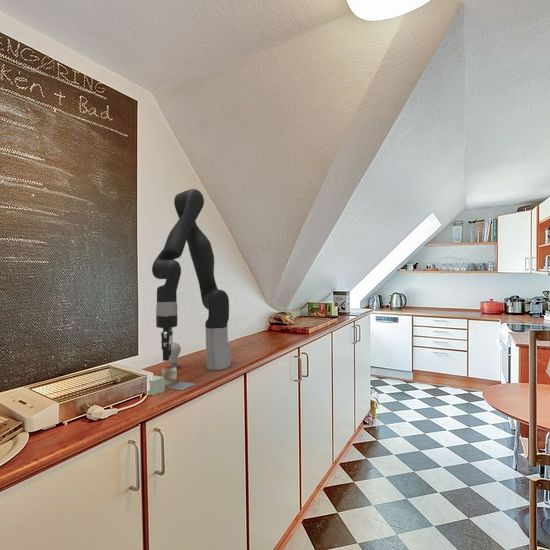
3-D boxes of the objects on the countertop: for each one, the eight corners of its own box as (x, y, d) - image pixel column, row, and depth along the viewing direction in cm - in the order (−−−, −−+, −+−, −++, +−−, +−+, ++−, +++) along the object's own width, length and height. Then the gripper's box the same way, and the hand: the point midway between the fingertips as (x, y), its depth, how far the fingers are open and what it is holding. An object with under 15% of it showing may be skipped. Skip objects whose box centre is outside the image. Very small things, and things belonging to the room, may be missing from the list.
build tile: (181, 382, 130) (181, 381, 130) (196, 385, 126) (196, 383, 126) (166, 388, 124) (166, 387, 124) (182, 391, 120) (182, 389, 120)
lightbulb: (175, 365, 155) (175, 340, 155) (184, 367, 152) (183, 341, 152) (163, 368, 151) (162, 342, 151) (171, 370, 147) (171, 344, 147)
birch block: (177, 380, 133) (176, 367, 133) (176, 384, 128) (176, 370, 128) (163, 381, 132) (162, 368, 132) (162, 385, 127) (161, 372, 127)
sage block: (154, 389, 123) (153, 375, 123) (164, 391, 120) (164, 377, 120) (142, 394, 118) (142, 379, 118) (153, 396, 116) (152, 381, 116)
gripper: (158, 312, 136) (158, 354, 136) (153, 316, 122) (154, 363, 122) (178, 312, 138) (178, 353, 138) (176, 315, 124) (176, 361, 124)
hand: (167, 357), depth 130 cm, fingers open, 8 cm apart
